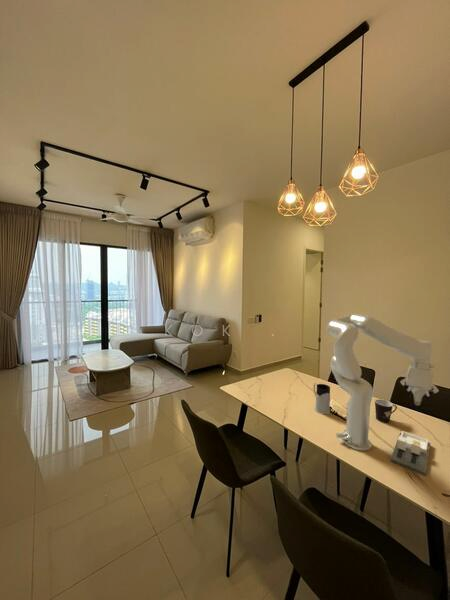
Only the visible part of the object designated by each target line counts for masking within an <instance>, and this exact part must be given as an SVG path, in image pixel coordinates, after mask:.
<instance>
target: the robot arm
mask: <svg viewBox="0 0 450 600" xmlns="http://www.w3.org/2000/svg"><path fill="white" fill-rule="evenodd" d="M326 331H327V333H328V334H329V335H330V336H331V337H333V338H335V339H336V340H335V343H334V344H333V348H332V352H333V356H332V357H331V358H330V362H329V366H330V370H331V372H332V374H333V376H334V379H335V380H336V382H337V384H338V386H339V387H340V388H341V389H342V390H343V391H345V392H346V393H347V394H349V395H350V398H349V400H348V402H347V405H346V406H347V407H346V424H345V425H346V426H345V429H344V430H343V432H341V433H340V432H338V433H337V432H336V433H335V437H336V438H337V439H341V441H343V443H344V444H345V445H346V446H348V447H350V448H351V449H354V450H356V451H365V452H366V451H370V450H371V449H372V446H373V444H372V442H371V440H370V439H369V430H370V413H371V412H370V411H371V403H372V399H373V396H374V387H373V386H372V384H370V383H369V382H368V381H367V380H365V379H364V378H362V377H361V376H362V368H361V366H360V364H359V361H358V360H357V357H356V354H355V352H354V345H355V343H356V341H357V339H358V337H359V332H360V333H363V334H364V335H366V336H368V337H370V338H372V339H373V340H375V341H377V342H379V343H381V344H384V345H385V346H388V347H390V348H393V349H395V351H396V352H397V353H398V354H401V355H404V356H406V357H411V361H410V364H409V366H408V368H407V372H406V377H405V378H403V379H401V380H400V381H399V382H400V384H401V385H402V386H403V387H404V388H405V390H406V391H407V395H406V396H407V398H408V400H411V399H412V391H411V388H412V387H420V388H422V389H424V390H425V392H426V394H425V395H424V404H425V405H427V403H429V399H430V396H432V395H434V394H437V393H439V391H440V390H439V389H438V387H437V386H436V385H435V384H434V383H433V382H434V381H433V377H434V376H433V375H434V374H433V370H432V369H435V365H433V364H432V363H431V362H432V352H433V351H432V350H433V343H432V342H431V341H429V340H424V339H416V338H414V337H413V336H410V335H409V334H406V333H403V332H401V331H399V330H398V329H395V328H393V327H391V326H389V325H387V324H385V323H383V322H381V321H380V320H378V319H377V318H375V317H374V316H370V315H367V314H360V313H352V314H349V315H345V316H342V317H339V318H335V319H332V320H331V321H330V322H328V324H327V326H326Z"/></svg>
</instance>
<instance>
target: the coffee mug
mask: <svg viewBox="0 0 450 600" xmlns="http://www.w3.org/2000/svg"><path fill="white" fill-rule="evenodd" d="M393 406H395V408H394V410H393ZM374 407H375V408H374V409H375V410H374V411H375V418H376V420H377V421H379V422H381V423H383V424H389V423H390V420H391V416H392V414H393V413H395V412H396V410H397V408H398V407H397V405H396V404H394V403H392V402H391V401H389V400H386V399H382V398H381V399H380V398H376V399H374Z"/></svg>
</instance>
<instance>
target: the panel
mask: <svg viewBox="0 0 450 600" xmlns="http://www.w3.org/2000/svg"><path fill="white" fill-rule="evenodd" d="M401 433H402V432H399V435H398V438H399V436H401ZM398 438H397V441H396V442H395V446H394V448H393V451H392V454H391V456H390V458H389V459H390V462H391V463H393V464H396V465H399V466H400V467H403V468H406V469H407V470H410V471H413V472H415V473H417V474H420V475H422V476H425V477H426V476H427V471H428V470H427V469H428V462H429V457H430V456H429V455H430V450H431V442H429V441H428V445H427V451H426V453H424V452H422V451H420V454H419V455H418V454H415V453H412V452H411V447H408V446H406V450H405V451H404V450H402V449H399V448H397V444H398Z"/></svg>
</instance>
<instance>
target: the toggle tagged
mask: <svg viewBox="0 0 450 600" xmlns="http://www.w3.org/2000/svg"><path fill="white" fill-rule="evenodd" d="M420 447H421V442H419V441H416V440H412V444H411V452H412V453H415V454H418V455H419V454H420Z"/></svg>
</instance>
